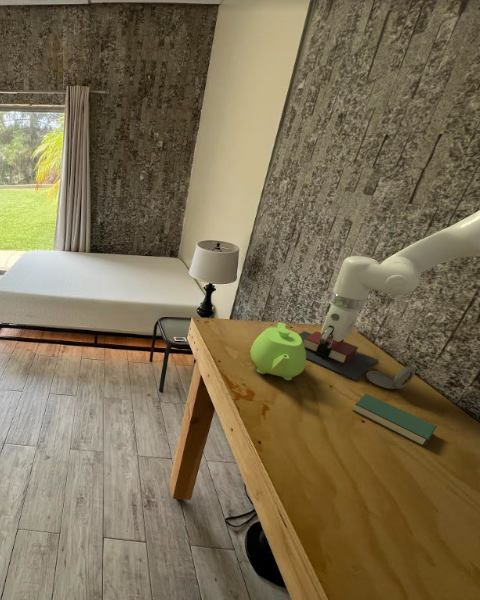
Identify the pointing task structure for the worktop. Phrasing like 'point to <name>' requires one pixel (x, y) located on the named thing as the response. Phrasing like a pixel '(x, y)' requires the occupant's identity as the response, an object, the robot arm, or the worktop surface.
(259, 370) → the teapot
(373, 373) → the pocket watch
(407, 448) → the worktop surface
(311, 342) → the top book
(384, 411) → the bottom book
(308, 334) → the felt mat
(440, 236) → the robot arm
